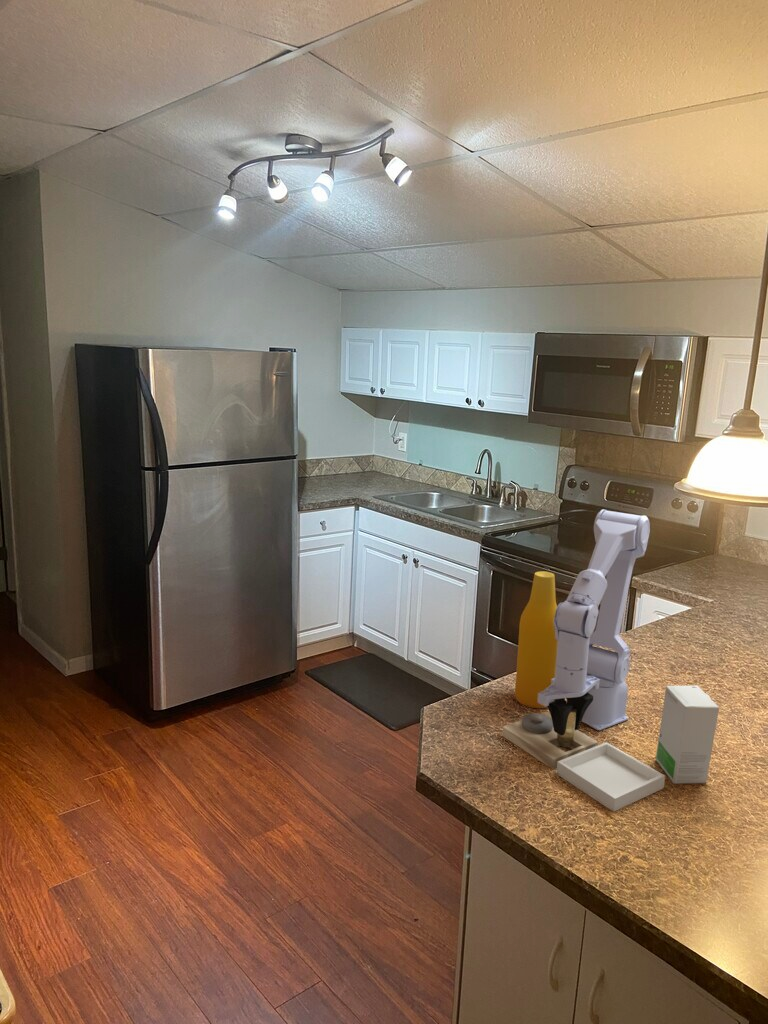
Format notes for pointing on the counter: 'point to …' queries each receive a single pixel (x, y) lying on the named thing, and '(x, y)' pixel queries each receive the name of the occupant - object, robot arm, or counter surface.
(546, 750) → the tensioner bracket
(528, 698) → the beer bottle
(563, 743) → the lock pin
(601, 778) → the tray
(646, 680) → the counter surface
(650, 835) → the counter surface
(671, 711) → the skincare box
